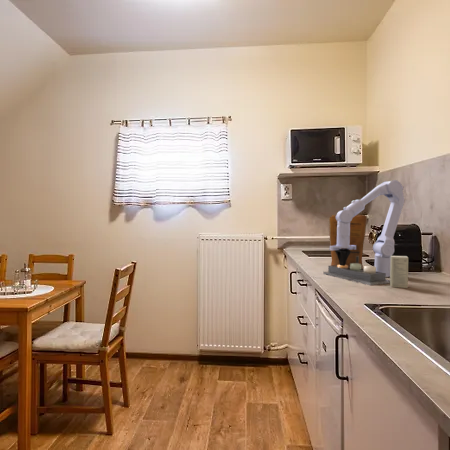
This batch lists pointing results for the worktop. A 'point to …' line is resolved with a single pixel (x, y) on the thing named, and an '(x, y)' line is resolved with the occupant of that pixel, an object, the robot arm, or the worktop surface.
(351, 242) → the pancake mix bag
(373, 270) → the ivory button
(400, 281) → the skincare box
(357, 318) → the worktop surface
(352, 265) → the sage button
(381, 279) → the button panel
